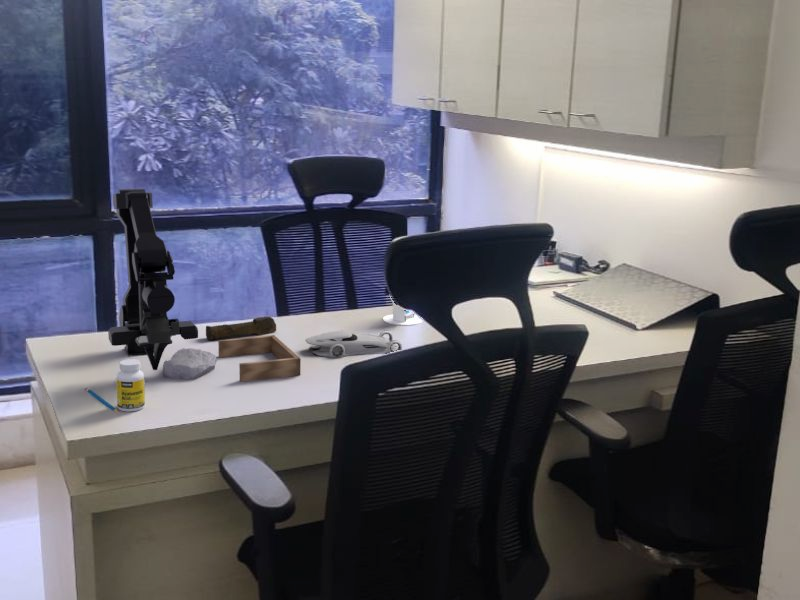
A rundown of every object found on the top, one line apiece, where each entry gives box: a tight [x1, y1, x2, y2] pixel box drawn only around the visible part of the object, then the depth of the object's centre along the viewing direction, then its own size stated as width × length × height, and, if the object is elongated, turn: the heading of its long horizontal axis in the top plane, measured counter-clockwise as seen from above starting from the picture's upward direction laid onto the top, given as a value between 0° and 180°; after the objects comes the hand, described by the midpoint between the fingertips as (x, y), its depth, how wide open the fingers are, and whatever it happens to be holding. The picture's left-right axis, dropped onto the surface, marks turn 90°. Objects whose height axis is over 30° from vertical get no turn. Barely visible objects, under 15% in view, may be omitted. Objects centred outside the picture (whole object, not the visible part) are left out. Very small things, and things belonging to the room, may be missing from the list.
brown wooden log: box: [205, 316, 277, 342], centre depth 235 cm, size 19×4×5 cm, turn 118°
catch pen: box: [217, 334, 302, 383], centre depth 212 cm, size 14×20×4 cm
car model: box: [305, 330, 403, 358], centre depth 227 cm, size 11×24×5 cm, turn 106°
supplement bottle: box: [115, 358, 146, 413], centre depth 182 cm, size 5×5×10 cm
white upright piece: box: [382, 295, 424, 327], centre depth 254 cm, size 12×11×15 cm
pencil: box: [84, 387, 120, 414], centre depth 186 cm, size 1×17×1 cm, turn 40°
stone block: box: [162, 347, 217, 380], centre depth 207 cm, size 12×5×10 cm
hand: (154, 369), depth 202 cm, fingers closed
